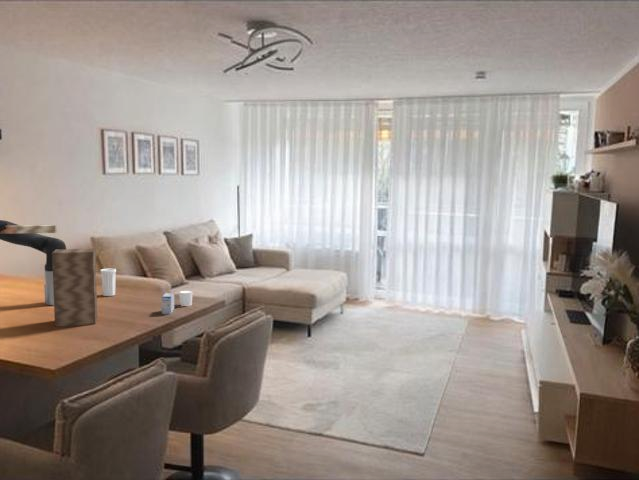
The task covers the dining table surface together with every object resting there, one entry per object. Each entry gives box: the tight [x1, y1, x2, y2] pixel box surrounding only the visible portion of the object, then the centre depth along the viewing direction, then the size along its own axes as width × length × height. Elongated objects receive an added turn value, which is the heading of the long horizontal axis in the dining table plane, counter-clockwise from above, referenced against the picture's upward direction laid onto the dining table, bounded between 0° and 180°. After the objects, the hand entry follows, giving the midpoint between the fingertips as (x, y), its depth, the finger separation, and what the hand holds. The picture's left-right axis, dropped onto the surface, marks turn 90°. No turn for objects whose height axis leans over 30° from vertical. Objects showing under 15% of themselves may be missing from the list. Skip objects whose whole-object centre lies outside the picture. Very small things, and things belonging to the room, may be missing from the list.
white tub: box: [178, 290, 193, 307], centre depth 266 cm, size 7×7×7 cm
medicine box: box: [161, 292, 175, 315], centre depth 251 cm, size 8×4×9 cm, turn 5°
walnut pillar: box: [52, 248, 98, 327], centre depth 230 cm, size 16×11×32 cm
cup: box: [99, 267, 117, 297], centre depth 284 cm, size 8×8×14 cm
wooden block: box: [0, 224, 58, 234], centre depth 221 cm, size 24×4×3 cm, turn 109°
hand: (6, 225), depth 219 cm, fingers closed on wooden block, 3 cm apart
